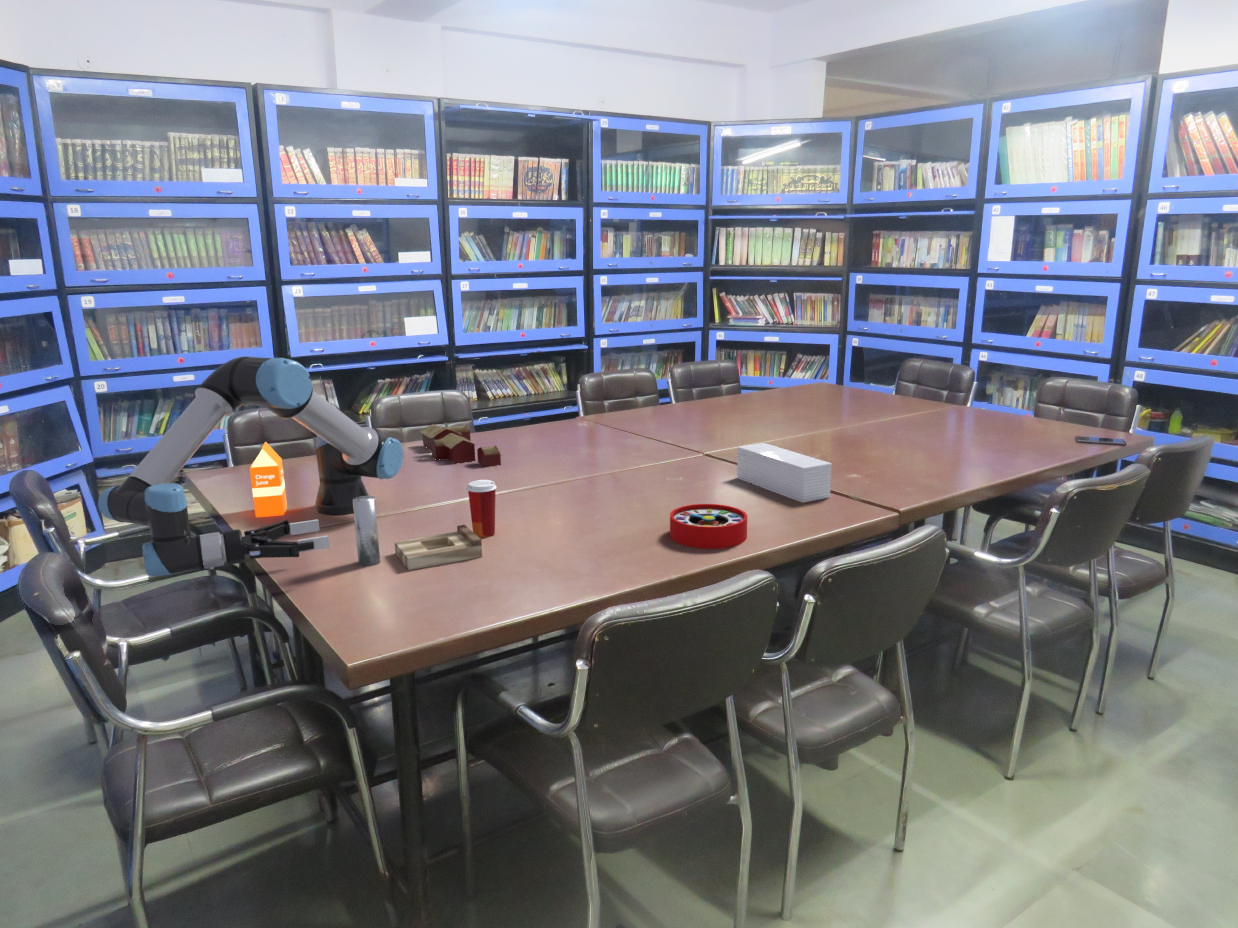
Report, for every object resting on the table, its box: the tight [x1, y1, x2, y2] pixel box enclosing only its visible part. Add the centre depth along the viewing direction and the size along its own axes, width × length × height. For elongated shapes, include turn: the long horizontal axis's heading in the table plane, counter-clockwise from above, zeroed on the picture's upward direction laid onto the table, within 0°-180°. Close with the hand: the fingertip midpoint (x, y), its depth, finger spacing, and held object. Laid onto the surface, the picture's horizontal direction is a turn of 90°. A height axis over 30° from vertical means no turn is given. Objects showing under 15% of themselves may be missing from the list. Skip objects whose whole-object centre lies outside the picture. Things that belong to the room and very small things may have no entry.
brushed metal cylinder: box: [353, 495, 381, 567], centre depth 199 cm, size 5×5×16 cm
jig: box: [394, 524, 483, 571], centre depth 205 cm, size 13×18×4 cm
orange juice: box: [249, 441, 288, 518], centre depth 239 cm, size 8×9×20 cm
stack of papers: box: [736, 442, 833, 503], centre depth 259 cm, size 32×11×11 cm, turn 29°
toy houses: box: [419, 423, 504, 468], centre depth 305 cm, size 45×20×10 cm, turn 29°
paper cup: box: [466, 479, 497, 539], centre depth 218 cm, size 8×8×14 cm
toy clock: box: [669, 503, 748, 550], centre depth 216 cm, size 20×6×20 cm
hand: (323, 532), depth 194 cm, fingers open, 13 cm apart
